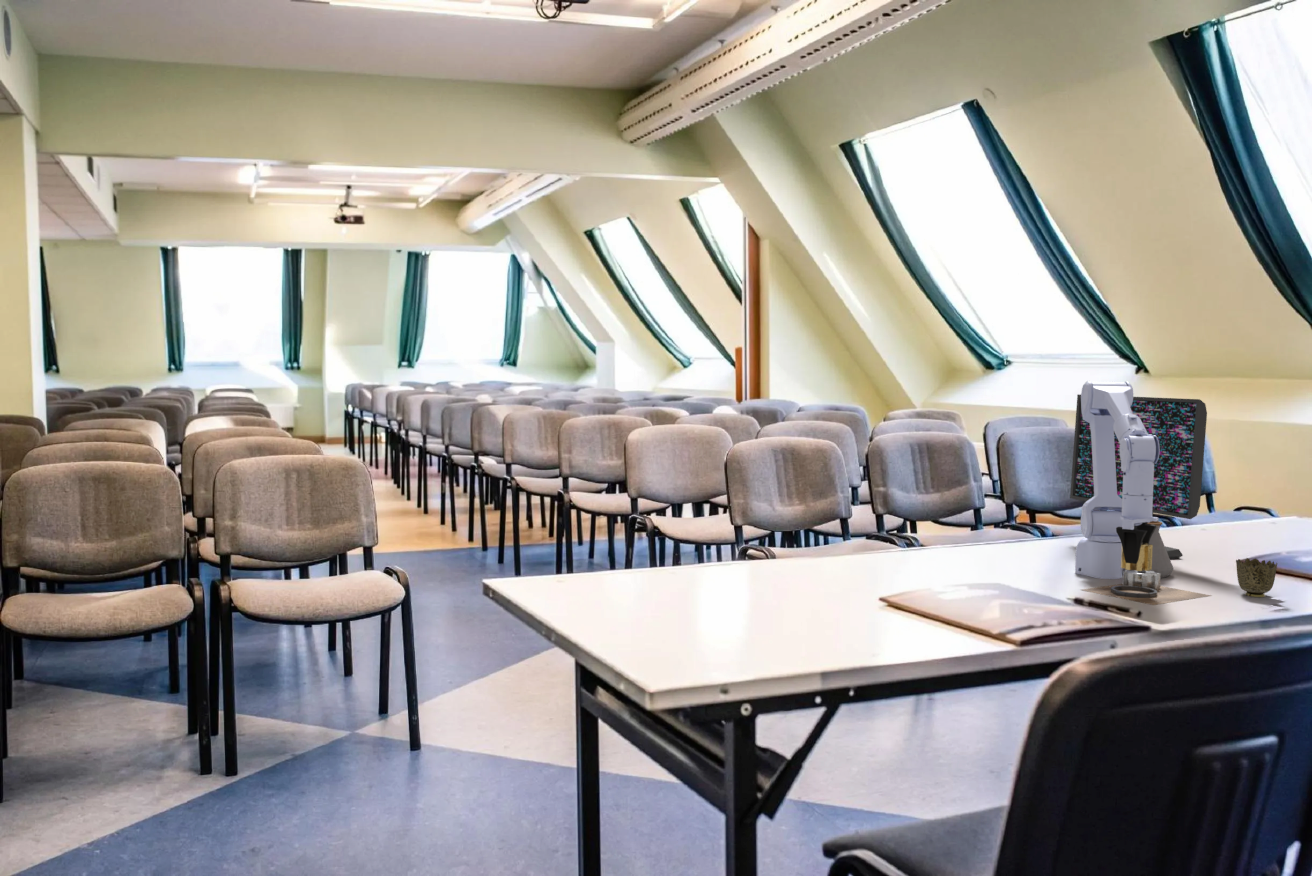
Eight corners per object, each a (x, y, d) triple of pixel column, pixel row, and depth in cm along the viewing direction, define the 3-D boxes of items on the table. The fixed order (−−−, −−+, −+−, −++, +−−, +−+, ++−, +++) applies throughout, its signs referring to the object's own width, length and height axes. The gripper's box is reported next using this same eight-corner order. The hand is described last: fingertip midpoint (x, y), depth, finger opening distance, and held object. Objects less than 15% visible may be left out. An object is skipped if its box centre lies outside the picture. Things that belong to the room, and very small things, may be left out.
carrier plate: (1079, 594, 235) (1079, 589, 235) (1137, 586, 245) (1137, 581, 245) (1153, 609, 220) (1153, 604, 220) (1211, 600, 230) (1211, 595, 230)
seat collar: (1102, 591, 233) (1102, 587, 233) (1128, 587, 237) (1128, 584, 237) (1139, 599, 225) (1139, 595, 225) (1165, 595, 230) (1166, 591, 230)
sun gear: (1115, 585, 240) (1116, 568, 240) (1136, 582, 244) (1137, 565, 244) (1145, 591, 234) (1146, 573, 234) (1167, 587, 238) (1167, 570, 238)
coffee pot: (1183, 580, 252) (1186, 513, 251) (1152, 585, 246) (1155, 516, 245) (1100, 565, 270) (1102, 503, 269) (1069, 569, 264) (1071, 505, 263)
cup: (1253, 604, 227) (1255, 564, 226) (1226, 597, 234) (1227, 558, 233) (1284, 602, 229) (1286, 563, 228) (1255, 595, 236) (1257, 557, 235)
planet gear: (1115, 567, 232) (1116, 541, 231) (1131, 565, 235) (1132, 539, 234) (1140, 571, 227) (1141, 545, 227) (1157, 569, 230) (1158, 542, 230)
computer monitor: (1049, 542, 306) (1054, 394, 303) (1099, 540, 311) (1104, 394, 308) (1167, 570, 264) (1173, 399, 262) (1223, 567, 269) (1230, 399, 267)
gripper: (1150, 499, 222) (1147, 567, 223) (1166, 493, 234) (1164, 558, 234) (1112, 496, 226) (1110, 564, 227) (1130, 490, 238) (1128, 554, 239)
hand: (1135, 561), depth 231 cm, fingers closed on planet gear, 6 cm apart
